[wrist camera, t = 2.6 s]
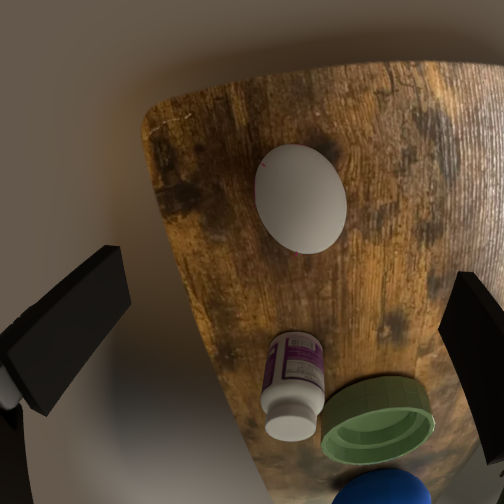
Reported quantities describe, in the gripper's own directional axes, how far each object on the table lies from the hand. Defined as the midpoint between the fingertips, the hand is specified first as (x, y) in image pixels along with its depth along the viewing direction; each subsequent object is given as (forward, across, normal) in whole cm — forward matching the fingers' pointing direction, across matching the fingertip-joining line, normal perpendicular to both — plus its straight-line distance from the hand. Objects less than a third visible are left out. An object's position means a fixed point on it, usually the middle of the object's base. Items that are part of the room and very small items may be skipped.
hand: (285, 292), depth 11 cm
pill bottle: (+14, +1, -15) cm, 21 cm away
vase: (+14, +20, -49) cm, 55 cm away
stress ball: (+14, 0, 0) cm, 14 cm away
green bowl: (+14, +12, -25) cm, 31 cm away
